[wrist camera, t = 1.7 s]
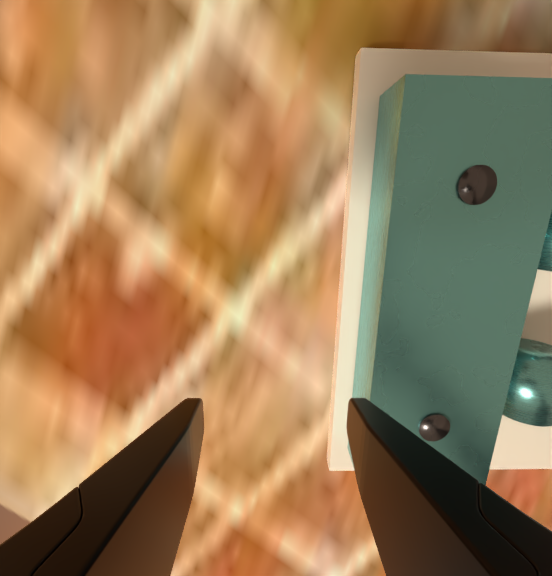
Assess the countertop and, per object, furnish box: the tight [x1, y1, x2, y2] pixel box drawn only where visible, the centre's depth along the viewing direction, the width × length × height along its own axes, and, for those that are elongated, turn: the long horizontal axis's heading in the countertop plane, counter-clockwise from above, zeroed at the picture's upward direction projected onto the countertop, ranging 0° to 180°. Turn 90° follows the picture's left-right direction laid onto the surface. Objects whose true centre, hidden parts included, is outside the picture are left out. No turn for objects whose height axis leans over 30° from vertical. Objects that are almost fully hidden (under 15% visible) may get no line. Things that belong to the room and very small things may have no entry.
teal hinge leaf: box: [347, 74, 552, 485], centre depth 17 cm, size 20×11×3 cm, turn 179°
